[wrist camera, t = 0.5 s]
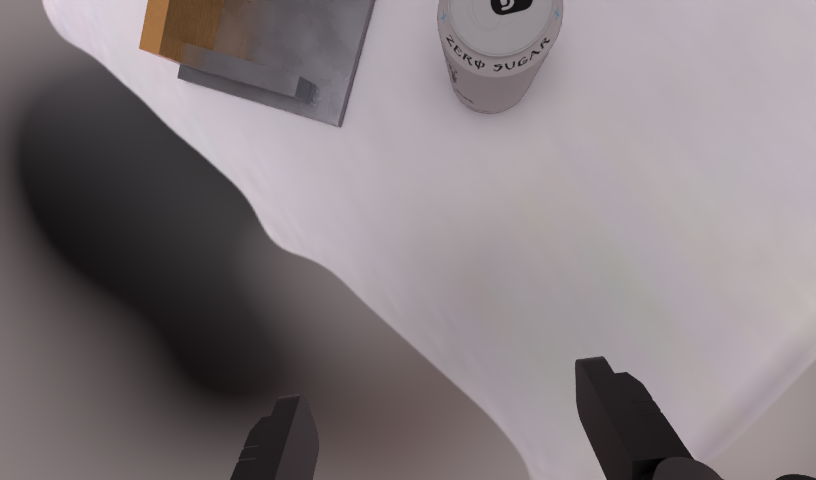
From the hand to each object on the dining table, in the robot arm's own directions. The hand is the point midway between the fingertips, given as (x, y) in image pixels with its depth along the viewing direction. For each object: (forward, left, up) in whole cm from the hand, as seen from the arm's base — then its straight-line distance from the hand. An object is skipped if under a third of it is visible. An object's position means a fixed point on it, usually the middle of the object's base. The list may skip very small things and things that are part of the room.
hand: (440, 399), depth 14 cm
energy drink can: (-15, 0, -25) cm, 29 cm away
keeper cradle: (-18, -17, -24) cm, 34 cm away
